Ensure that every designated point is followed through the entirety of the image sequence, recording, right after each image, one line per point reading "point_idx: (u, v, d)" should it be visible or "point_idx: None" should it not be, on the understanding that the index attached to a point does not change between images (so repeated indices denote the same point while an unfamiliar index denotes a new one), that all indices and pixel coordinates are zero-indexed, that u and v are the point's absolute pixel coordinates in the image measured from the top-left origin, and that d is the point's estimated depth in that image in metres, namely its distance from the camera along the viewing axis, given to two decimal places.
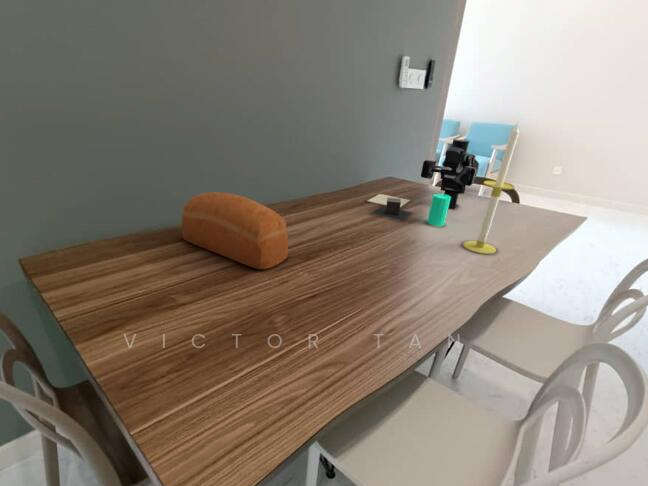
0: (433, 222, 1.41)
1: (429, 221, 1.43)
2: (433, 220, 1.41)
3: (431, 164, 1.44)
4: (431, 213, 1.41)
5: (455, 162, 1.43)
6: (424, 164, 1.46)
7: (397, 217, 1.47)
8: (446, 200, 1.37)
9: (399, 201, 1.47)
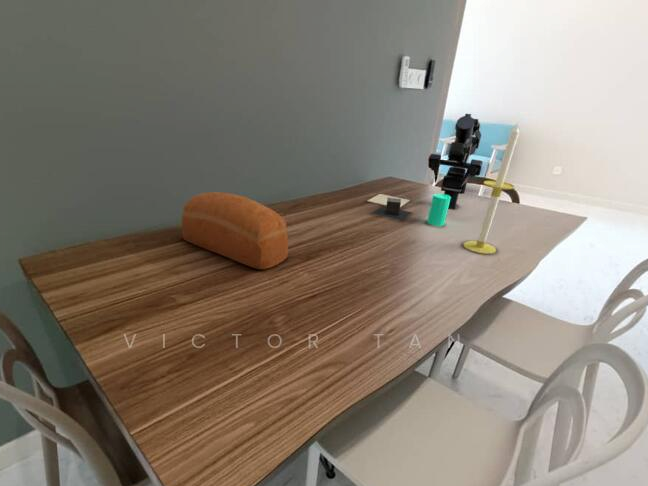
0: (433, 222, 1.41)
1: (429, 221, 1.43)
2: (433, 220, 1.41)
3: (436, 163, 1.44)
4: (431, 213, 1.41)
5: (460, 155, 1.41)
6: (429, 160, 1.46)
7: (397, 217, 1.47)
8: (446, 200, 1.37)
9: (399, 201, 1.47)
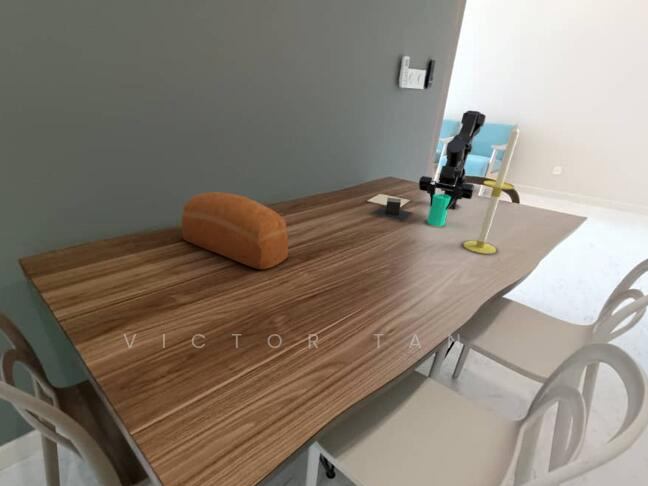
0: (433, 222, 1.41)
1: (429, 221, 1.43)
2: (433, 220, 1.41)
3: (432, 187, 1.40)
4: (431, 213, 1.41)
5: (451, 178, 1.38)
6: (420, 183, 1.43)
7: (397, 217, 1.47)
8: (446, 200, 1.37)
9: (399, 201, 1.47)
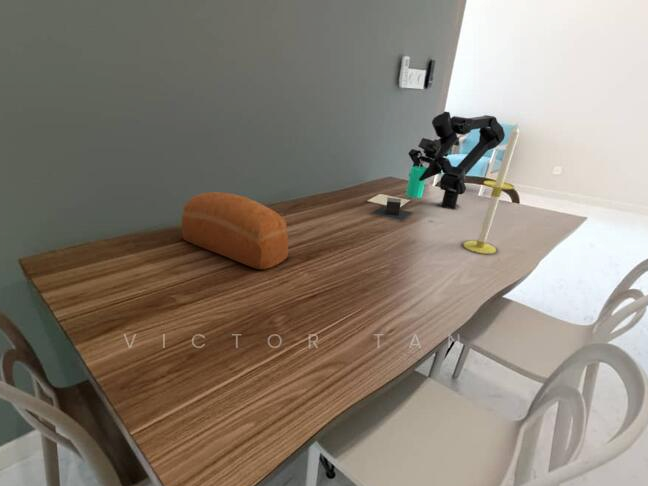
0: (408, 192, 1.49)
1: None
2: (408, 190, 1.49)
3: (415, 159, 1.48)
4: (408, 183, 1.49)
5: (431, 151, 1.43)
6: (410, 155, 1.52)
7: (397, 217, 1.47)
8: (418, 171, 1.44)
9: (399, 201, 1.47)
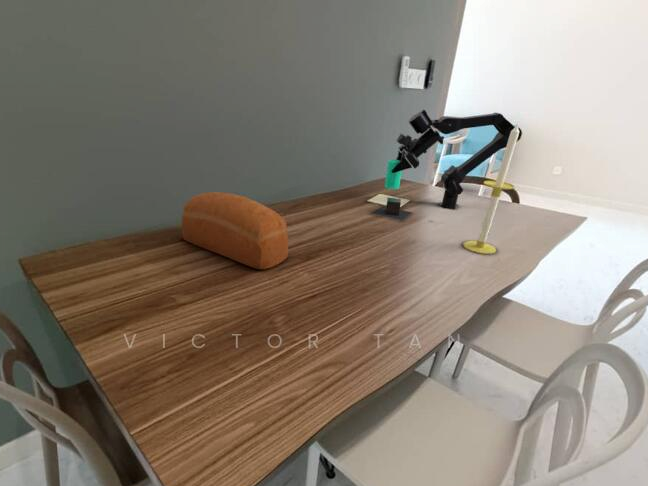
0: (385, 183, 1.62)
1: None
2: None
3: (398, 153, 1.59)
4: None
5: (407, 146, 1.53)
6: (400, 150, 1.63)
7: (397, 217, 1.47)
8: (391, 163, 1.56)
9: (399, 201, 1.47)
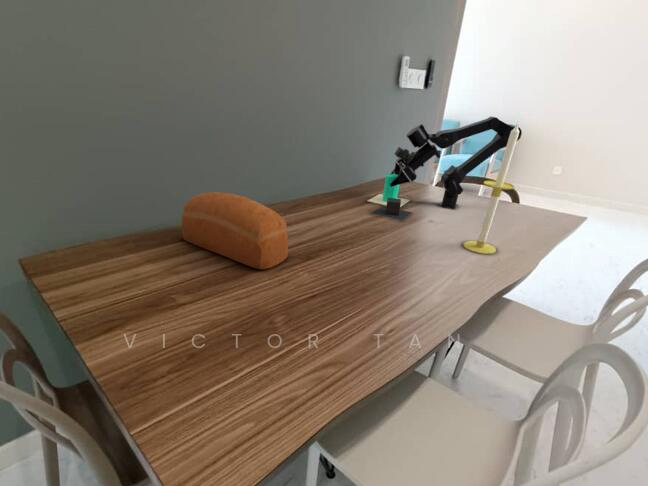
0: None
1: None
2: (383, 194, 1.65)
3: (395, 165, 1.64)
4: None
5: (404, 160, 1.55)
6: None
7: (397, 217, 1.47)
8: (389, 177, 1.59)
9: (399, 201, 1.47)
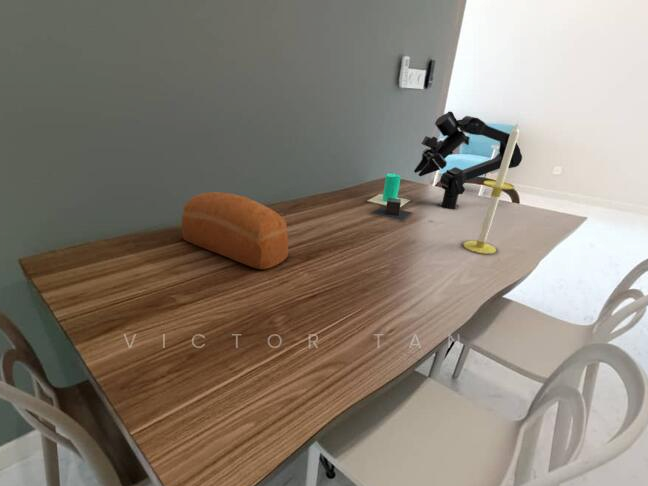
0: None
1: None
2: (383, 194, 1.65)
3: (422, 156, 1.60)
4: None
5: (432, 148, 1.51)
6: None
7: (397, 217, 1.47)
8: (389, 177, 1.59)
9: (399, 201, 1.47)
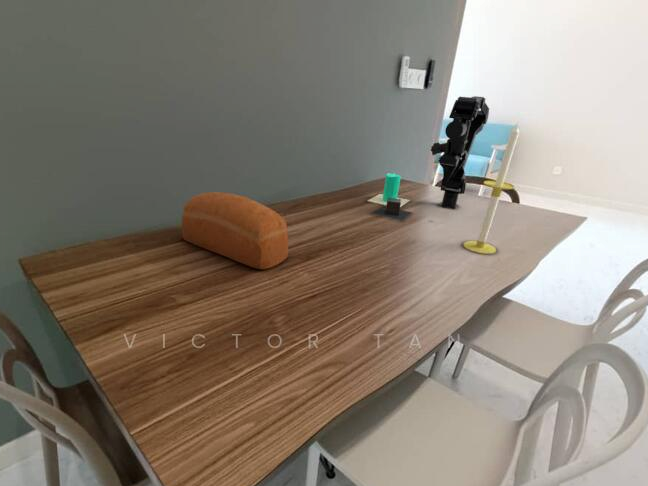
0: None
1: None
2: (383, 194, 1.65)
3: None
4: None
5: (443, 151, 1.44)
6: None
7: (397, 217, 1.47)
8: (389, 177, 1.59)
9: (399, 201, 1.47)
